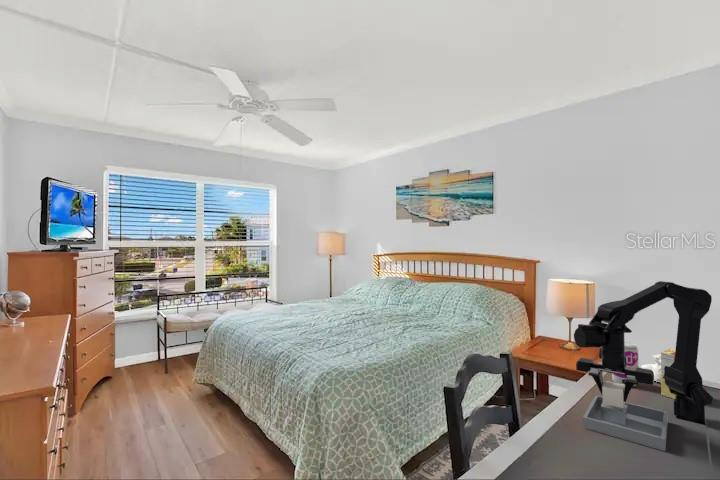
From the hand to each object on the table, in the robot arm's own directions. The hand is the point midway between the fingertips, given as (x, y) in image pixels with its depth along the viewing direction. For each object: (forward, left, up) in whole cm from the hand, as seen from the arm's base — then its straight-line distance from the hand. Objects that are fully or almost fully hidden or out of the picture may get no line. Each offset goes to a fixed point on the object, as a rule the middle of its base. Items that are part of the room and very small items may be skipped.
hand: (614, 398), depth 107 cm
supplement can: (+1, -38, -7) cm, 39 cm away
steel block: (0, 0, -6) cm, 6 cm away
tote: (-3, +2, -6) cm, 7 cm away
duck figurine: (-9, -49, -7) cm, 50 cm away
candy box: (-13, -36, -7) cm, 39 cm away
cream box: (0, 0, -1) cm, 1 cm away
